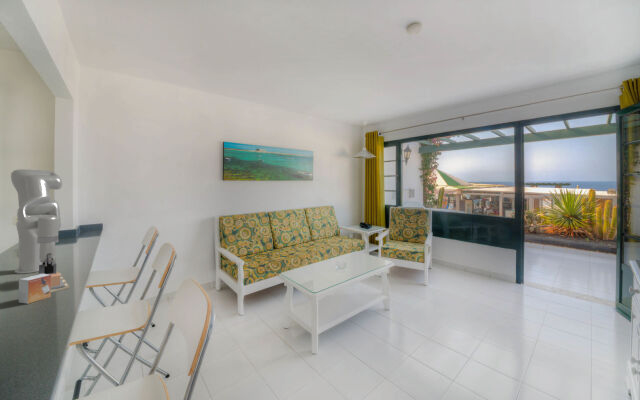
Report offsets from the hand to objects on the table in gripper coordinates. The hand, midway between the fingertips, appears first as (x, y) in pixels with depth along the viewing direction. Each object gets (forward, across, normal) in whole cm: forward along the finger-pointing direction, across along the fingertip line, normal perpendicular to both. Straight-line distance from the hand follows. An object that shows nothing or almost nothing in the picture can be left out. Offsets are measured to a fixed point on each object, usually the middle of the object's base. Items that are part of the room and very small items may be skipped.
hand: (47, 271), depth 130 cm
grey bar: (+4, +9, 0) cm, 10 cm away
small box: (+6, +27, -6) cm, 28 cm away
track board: (+5, +4, 0) cm, 7 cm away
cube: (+4, +16, 0) cm, 16 cm away
